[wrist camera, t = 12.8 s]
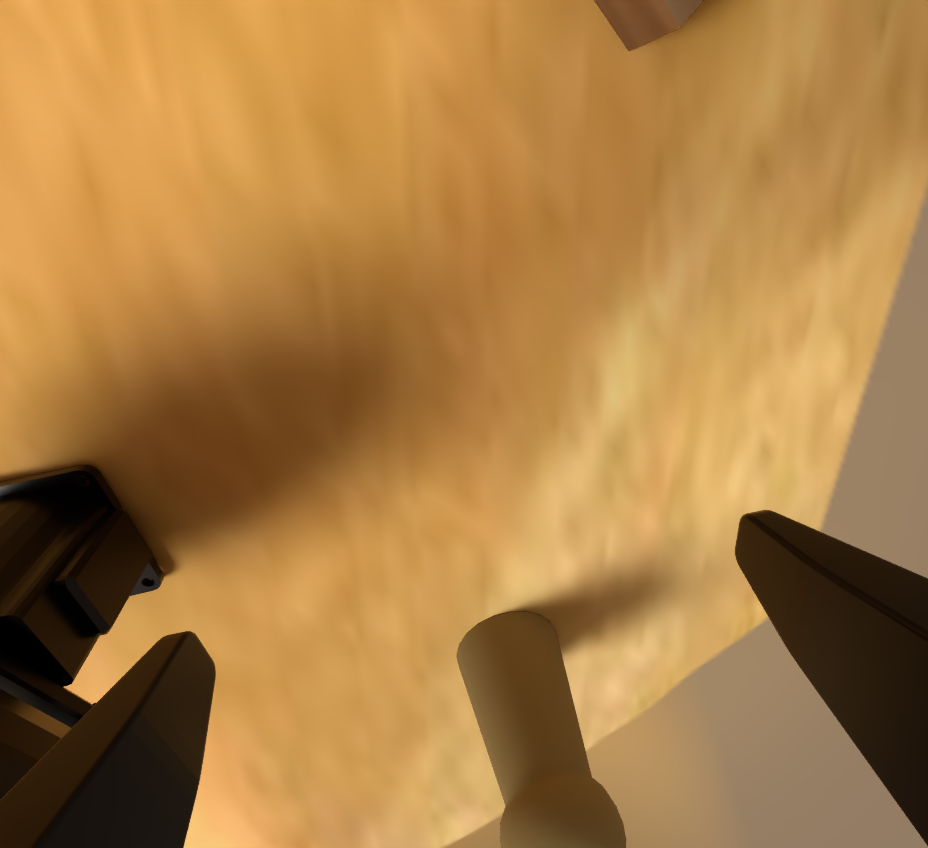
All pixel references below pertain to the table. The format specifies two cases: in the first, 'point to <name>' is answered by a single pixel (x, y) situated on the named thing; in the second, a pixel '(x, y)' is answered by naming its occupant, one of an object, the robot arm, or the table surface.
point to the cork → (534, 737)
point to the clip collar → (646, 18)
